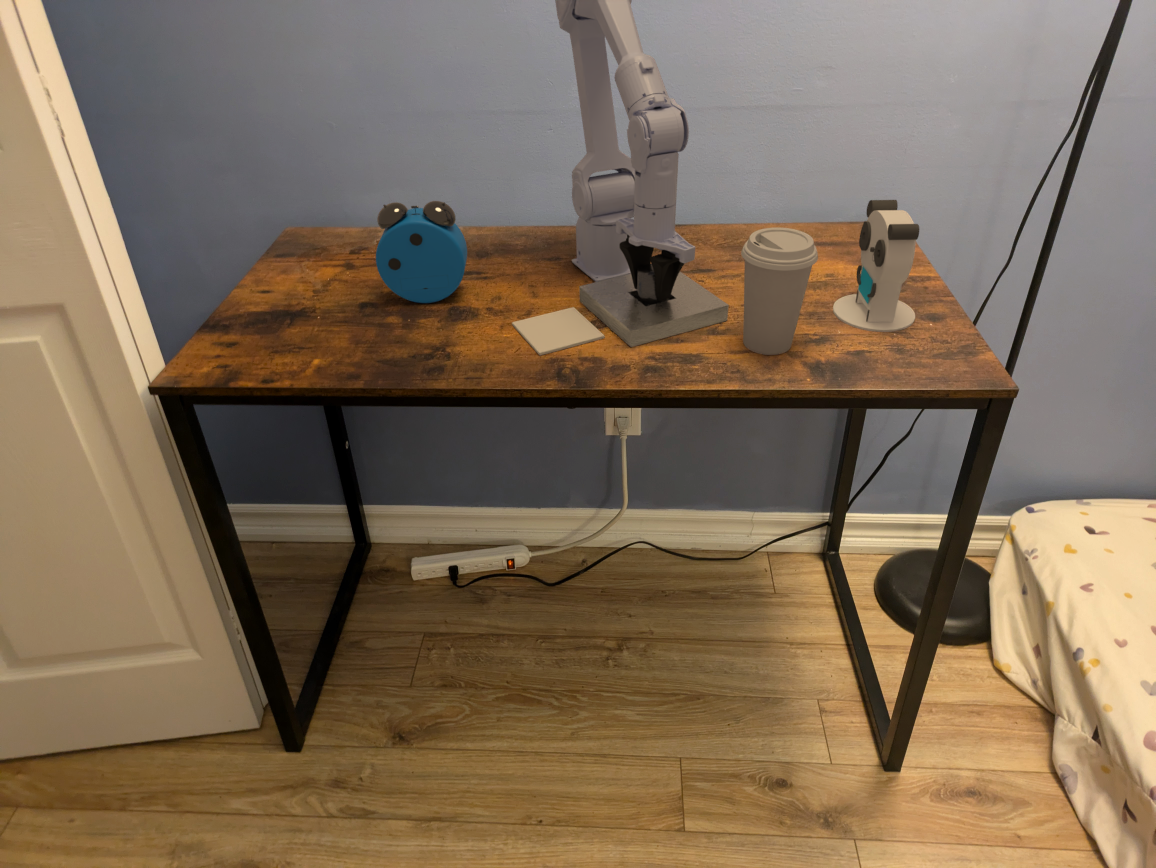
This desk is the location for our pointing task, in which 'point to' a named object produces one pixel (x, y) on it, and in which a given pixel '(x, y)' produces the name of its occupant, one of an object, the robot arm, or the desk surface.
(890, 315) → the panda figurine
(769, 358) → the desk surface
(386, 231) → the alarm clock
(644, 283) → the dark metal cylinder
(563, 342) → the rubber pad
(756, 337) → the coffee cup
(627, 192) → the robot arm
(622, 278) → the housing block
